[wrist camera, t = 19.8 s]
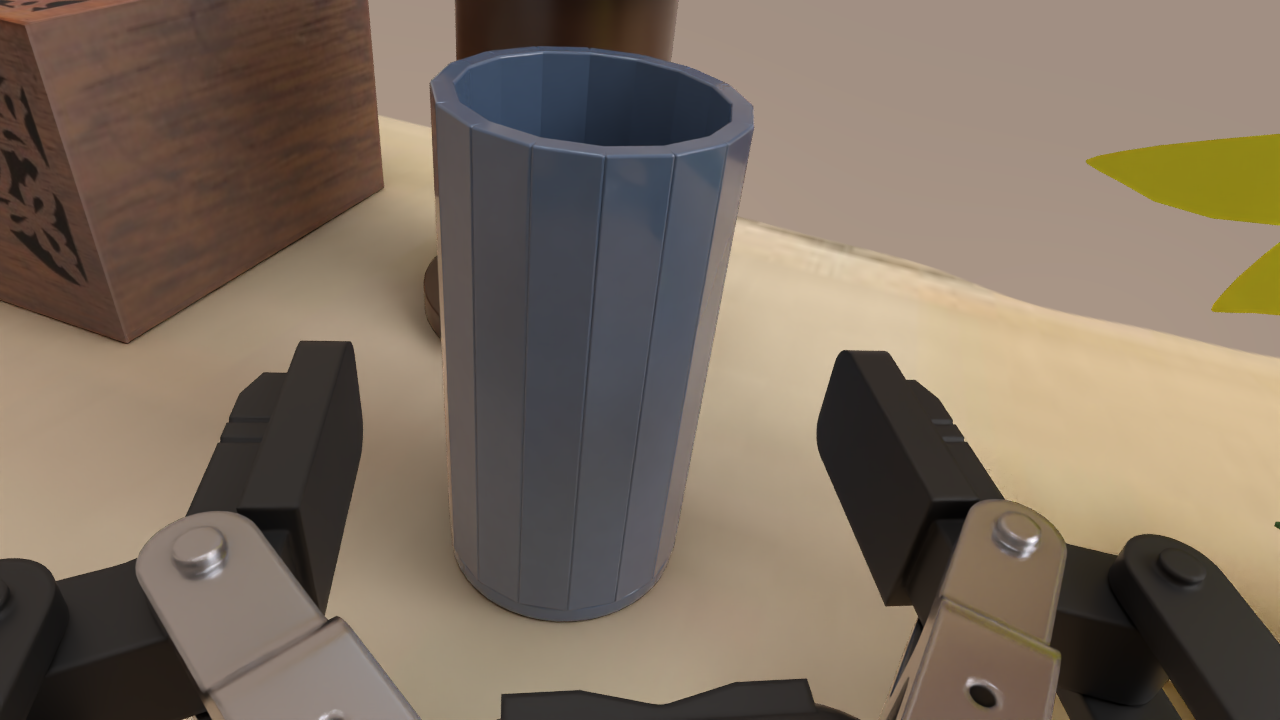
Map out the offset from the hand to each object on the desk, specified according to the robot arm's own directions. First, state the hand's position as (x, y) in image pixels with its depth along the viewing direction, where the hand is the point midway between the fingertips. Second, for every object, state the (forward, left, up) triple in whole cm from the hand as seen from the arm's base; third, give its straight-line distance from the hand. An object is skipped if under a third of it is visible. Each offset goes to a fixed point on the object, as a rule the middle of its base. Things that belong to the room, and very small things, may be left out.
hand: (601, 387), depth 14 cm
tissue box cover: (-33, +8, -9) cm, 35 cm away
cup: (-3, +4, -9) cm, 10 cm away
